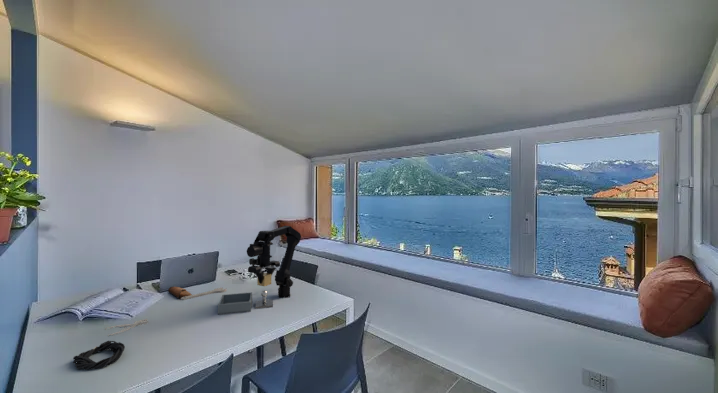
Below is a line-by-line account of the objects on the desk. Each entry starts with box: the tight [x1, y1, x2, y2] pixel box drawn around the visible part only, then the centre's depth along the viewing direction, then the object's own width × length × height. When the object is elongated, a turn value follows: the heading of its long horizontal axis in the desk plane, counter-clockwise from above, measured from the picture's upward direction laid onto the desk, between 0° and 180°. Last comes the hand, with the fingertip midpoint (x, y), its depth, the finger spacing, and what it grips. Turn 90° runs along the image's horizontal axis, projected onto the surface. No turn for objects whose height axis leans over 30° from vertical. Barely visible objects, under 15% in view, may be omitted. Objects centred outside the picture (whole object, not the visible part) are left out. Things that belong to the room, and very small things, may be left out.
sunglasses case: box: [167, 286, 193, 300], centre depth 180 cm, size 18×7×7 cm
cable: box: [73, 340, 126, 370], centre depth 110 cm, size 17×14×4 cm
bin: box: [217, 292, 253, 316], centre depth 161 cm, size 16×16×5 cm
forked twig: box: [104, 318, 149, 337], centre depth 136 cm, size 10×2×15 cm
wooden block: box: [256, 272, 272, 287], centre depth 165 cm, size 5×5×6 cm
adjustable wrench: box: [180, 287, 228, 301], centre depth 181 cm, size 25×6×2 cm, turn 132°
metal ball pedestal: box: [255, 289, 274, 309], centre depth 165 cm, size 9×9×8 cm
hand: (264, 282), depth 165 cm, fingers closed on wooden block, 5 cm apart
